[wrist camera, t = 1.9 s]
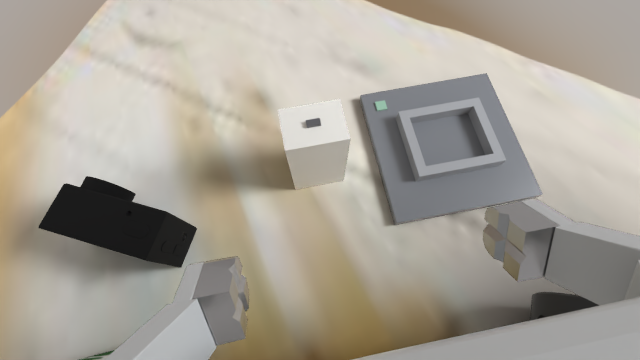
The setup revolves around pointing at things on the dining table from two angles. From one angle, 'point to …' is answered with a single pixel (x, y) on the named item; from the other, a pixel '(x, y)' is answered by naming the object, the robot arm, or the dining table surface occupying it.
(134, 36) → the dining table surface
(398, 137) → the socket plate
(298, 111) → the charger brick
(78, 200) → the digital camera
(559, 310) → the muzzle brake
